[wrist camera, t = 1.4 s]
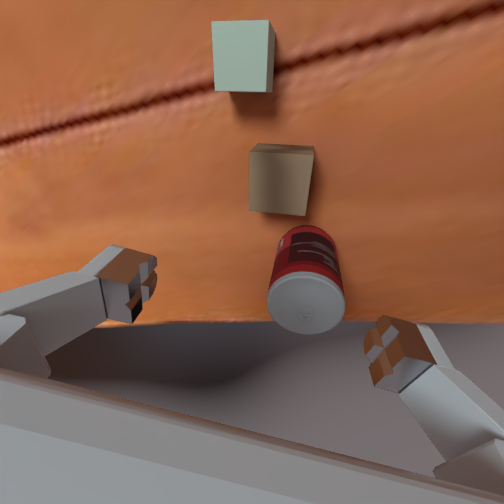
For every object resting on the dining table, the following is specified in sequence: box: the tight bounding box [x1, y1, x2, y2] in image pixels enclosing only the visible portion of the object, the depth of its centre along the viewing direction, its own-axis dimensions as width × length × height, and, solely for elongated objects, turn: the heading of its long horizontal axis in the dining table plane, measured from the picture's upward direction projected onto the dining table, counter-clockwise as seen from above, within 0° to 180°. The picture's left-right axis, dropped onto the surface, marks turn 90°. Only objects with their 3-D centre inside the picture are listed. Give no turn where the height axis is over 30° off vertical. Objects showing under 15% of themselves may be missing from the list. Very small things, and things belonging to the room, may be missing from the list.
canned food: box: [267, 225, 345, 335], centre depth 29 cm, size 8×8×11 cm
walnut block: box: [249, 143, 314, 216], centre depth 26 cm, size 6×6×5 cm
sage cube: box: [211, 20, 276, 93], centre depth 22 cm, size 4×4×4 cm
